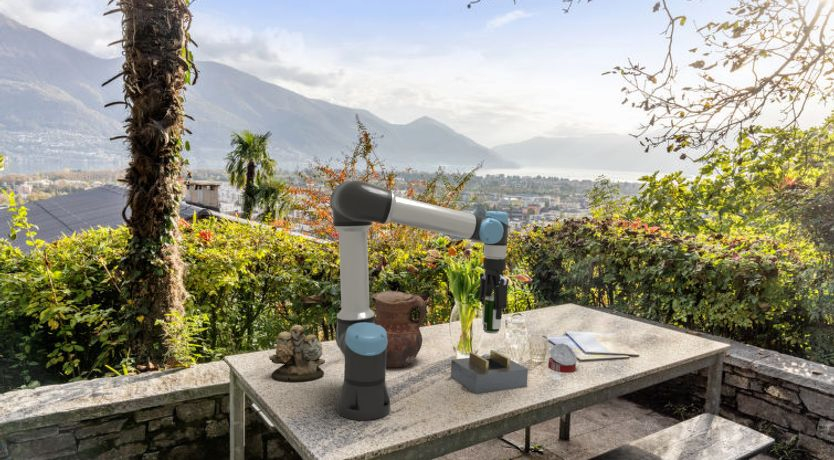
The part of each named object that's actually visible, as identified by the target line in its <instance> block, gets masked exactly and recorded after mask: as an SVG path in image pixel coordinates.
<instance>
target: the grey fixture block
mask: <svg viewBox="0 0 834 460" xmlns="http://www.w3.org/2000/svg"><path fill="white" fill-rule="evenodd" d="M450 367H451V368H450V377H451V379H453V380H455V381H456V382H457V383H458V384H460V385H462V386H463V387H465V388H467V389H468V390H469V391H471V392H473V393H474V394H475V395H479V394H486V393H491V392H492V393H493V392H497V391H506V390H511V389H519V388H520V389H521V388H524V387H528V375H529V374H528V373H529V368H528V367H525V366H524V365H521V364H519V363H517V362H515V361H513V360H511V358H509V357H508V356H506V355H503V354H502V353H501V352H498V351H496V350H494V349H490V352H489V354H483V355H481V356H480V355H478V354H477V353H474V352H471V351H469V357H466V358H464V357H463V358H455V359H451V364H450Z"/></svg>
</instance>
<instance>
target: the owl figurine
mask: <svg viewBox="0 0 834 460" xmlns="http://www.w3.org/2000/svg"><path fill="white" fill-rule="evenodd" d="M322 346H323V344H322V342H321V341H319V340H318V338H317V335H315V334H313V333H312V334H308V335H305V328H304V327H303V326H302V325H300V324H295V325H293V326H292V327H291V328H290V329H289V332H288V331H282V332H280V333H278V335H277V340H276V345H275V354H272V355H269V356H268V358H269V359H268V360H270V361H271V363H273V364H276V365H279V364H281V366H279V367H278V368H276V369H274V371H272V372H271V378H272V379H273V380H275V381H277V382H283V383H288V382H290V383H306V382H312V381H317V380H319V379H320V378H323V377H324V374H325V372H324V370H323V369H322V368H321V367H320V366H323V365H324V364H325V363H326V359H323V358H321V357H322V355H323V347H322Z"/></svg>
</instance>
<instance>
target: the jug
mask: <svg viewBox="0 0 834 460" xmlns="http://www.w3.org/2000/svg"><path fill="white" fill-rule="evenodd" d="M370 297H371V298H370V299H371V301H372V302H373V304H374V306H375V312H376V313H375V324H376V325H380V326H382V327H383V328H384V329H385V330H386V332H387V340H388V344H387V355H386V368H402V367H406V366H408V365H410V364H411V363H412V361H414V359H415V358H416V357H417V356H418V354H419V352H420V351H421V349H422V345H423V335H422V333H421V330H420V327H421V325H422V324H423V322H424V320H425V319H426V316H427V309H428V308H427V305H426V302H425V300H424V299H423V298H422V297H421V296H420V295H415V294H413V293H405V292H402V291H396V290H385V291H380V292H378V293H374V294H372V295H371V296H370ZM414 307H418V308H419V315H418V319H417V320H414V319H413V318H412V315H413V310H414Z"/></svg>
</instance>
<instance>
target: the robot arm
mask: <svg viewBox="0 0 834 460" xmlns="http://www.w3.org/2000/svg"><path fill="white" fill-rule="evenodd" d="M329 200H330V201H329V204H330V208H331V210H332V223H333V224H332V225H333V226H332V227H333V228H334V229H335V230H336V231H338V245H339V246H338V247H339V249H338V251H339V253H338V254H339V273H340V274H339V275H340V276H339V278H340V299H341V300H340V304H341V309H340V311H339V312H338V313H337V314H336V328H335V335H334V336H335V337H334V338H335V342H336V345H337V347H338V349H339V350H340V352H341V354H342V355H343V357H344V369H343V370H344V374H343V375H344V376H343V383H342V386H341V389H340V391H339V395H338V396H337V400H336V412H337V414H339V415H340V416H341V417H344V418H347V419H350V420H356V421H371V419H373V420H378V419H381V418H383V417H385V416H387V415H388V414H389V413H390V412H391V399H390V395H389V392H388V388H387V384H386V374H387V372H386V371H387V367H386V355H387V344H388V340H387V332H386V330H385V329H384V328H383V327H382V326H380V325H376V324H375V319H376V313H375V311H373V310H372V309H371V308H370V282H369V281H370V280H369V278H370V277H369V274H370V273H369V251H368V247H369V246H368V244H369V243H368V231H369V229H370V228H371V227H373V223H376V224H381V225H385V224H387V223H394V224H398V225H403V226H408V227H412V228H416V229H421V230H425V231H426V230H427V231H431V232H435V233H439V234H443V235H448V236H451V238H453V239H455V240H461V241H462V240H468V241H469V240H470V241H475V242H479V243H483V245H484V246H483V256H484V257H483V260H482V261H483V262H482V267H483V270H485V271H484V272H480V273H479V278H480V283H479V295H478V296H479V297H478V302H480V303H481V304H482V320H481V322H482V325H483V321H484V302H485V297H486V295H494V302H495V308H493V326H492V329H499V330H500V329H501V324H502V323H501V322H502V318H503V317H502V315H503V310H505V309H507V306H508V285H509V282H510V280H509V279H508V278H505V277H504V271H506V268H507V260H506V257H507V248H508V247H507V246H508V236H509V235H508V234H509V213H508V212H507V211H496V210H487V211H486V212H485V215H484V216H480V215H476V214H472V213H469V212H465V211H460V210H456V209H452V208H448V207H444V206H440V205H435V204H432V203H428V202H424V201H418V200H414V199H410V198H407V197H404V196H403V197H402V196H398V195H395V194H394V192H393V191H392V190H390V189H389V190H388V189H386V188H382V187H379V186H376V185H374V184H370V183H368V182H365V181H362V180H349V181H348V180H347V181H344V182H341V183H340V184H338V185H337V186H336V187H335V188H334V189H333V191H332V192H331V195H330V199H329ZM377 418H378V419H377Z"/></svg>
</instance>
